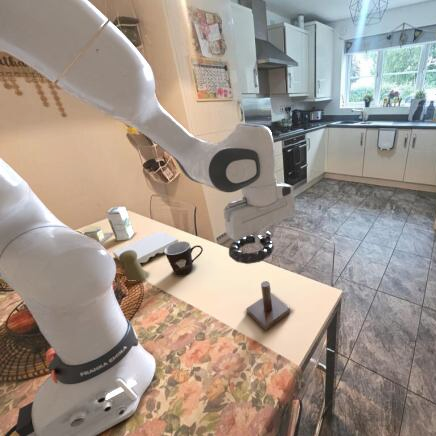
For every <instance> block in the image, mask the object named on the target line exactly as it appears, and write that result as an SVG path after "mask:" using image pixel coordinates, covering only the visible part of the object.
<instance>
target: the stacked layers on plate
mask: <svg viewBox="0 0 436 436" xmlns="http://www.w3.org/2000/svg"><path fill="white" fill-rule="evenodd" d="M81 233H83V235H86V236H88V237H90V238H92V239H94V240H96V241H97V242H99V243H100V244H102V243H103V242H104V241H105V240H107V239H108V238H109V237H110V236H112V233H104V232H103V229H102V228H101V226H96V225H91V226H86V227H85V228H83V230H82V231H81Z"/></svg>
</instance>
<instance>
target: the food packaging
mask: <svg viewBox="0 0 436 436" xmlns="http://www.w3.org/2000/svg"><path fill="white" fill-rule="evenodd" d="M175 242H179V239H178V238H176V237H174V236H172V235H171V234H168V233H167V232H165V231H163V230H158V231H156V232H153V233H151V234H149V235H147V236H145V237H142V238H140V239H138V240H135V241H134V242H131V243H129V244H127V245H125V246H122V247H119V248H117V249H115V250H113V251H112V254H113V256H114V257H115V259H117V260H118V261H119V262H121V261H120V260H119V256H120V254H121V253H123V252H125V251H128V250H133V251H135V252H136V253H137V260H138V262H139V263H140V264H142V263H143V264H144V263H147V262H148V261H149V260H150V258H151V257H152V258H153V257H155V256H156V254H163V253H164V249H165V248H166V247H167V246H169V245H170V244H172V243H175Z"/></svg>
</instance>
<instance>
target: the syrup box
mask: <svg viewBox="0 0 436 436" xmlns="http://www.w3.org/2000/svg"><path fill="white" fill-rule="evenodd" d="M105 215H106V217H107V220H108V223H109V224H110V228H111V231H112V234H113V236H114V237H115V240H116V241H126V240H130V239H131V238H132V237H133V235H135V232H134V229H133V226H132V223H131V220H130V217H129V214H128V212H127V209H126V206H114V207H110V209H108V211H106V212H105Z"/></svg>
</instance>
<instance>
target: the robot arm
mask: <svg viewBox="0 0 436 436" xmlns="http://www.w3.org/2000/svg"><path fill="white" fill-rule="evenodd" d="M108 20H109V19H108V17H106V16H105V14H103V13H102V12H101V11H100V10H99V9H98V8H97V7H96V6H95V5H94V4H93V3H91V1H89V0H0V51H1V52H4V53H6V54H8V55H10V56H12V57H13V58H16V59H17V60H19V61H20V62H22V63H24V64H25V65H27V66H28V67H30V68H32V69H33V71H36V72H37V73H38V74H40V76H43V77H44V78H45V79H47V80H49V81H50V82H52V83H53V84H55V82H56V84H55V85H56V86H57V87H59V88H60V89H61V90H63V91H64V92H66V93H68V94H69V95H71V96H72V97H73V98H76V99H77V100H78V101H80V102H81V103H83V104H86V105H87V106H89V107H90V108H92V109H94V110H96V111H98V112H100V113H102V114H104V115H106V116H108V117H110V118H112V119H114V120H116V121H118V122H120V123H123V124H125V125H126V126H129V127H131V128H133V129H135V130H136V131H138V133H141V134H142V135H143V136H145V137H146V138H148V139H149V140H150V141H151V142H153V143H154V144H156V146H158V147H159V148H161V149H162V150H163V151H164V152H166V153H167V154H168V155H170V156H171V157H172V158H173V159H174V160H175V162H176V164H177V165H178V166H179V168H180V170H181V171H182V173H183V174H184V175H185V177H187V178H188V179H189V180H190V181H192V182H193V183H198V184H202V185H205V186H206V187H209V188H212V189H214V190H217V191H219V192H223V193H235V192H237V191H239V190H241V197H242V198H239V199H237V200H235V201H230V202H228V203H227V205H226V206H225V207H224V209H223V218H224V224H225V233H226V235H227V237H229V238H230V239H231V240H234V241H235V240H239V239H241V238H244V237H246V236H248V235H252V236H253V237H254V238H255V243H256V244H255V245H257V246H259V245H260V244H262V243H263V238H262V237H260V236H258V235H260V231H261V230H264V229H266V228H268V229H267V231H266V232H265V236H266V237H267V238H269V239H271V240H272V239H274V238H275V232H276V229H277V227H278V224H277V223H279V222H282V221H284V220H287V219H288V218H291V217H293V216H294V215H295V212H296V202H295V196H294V194H293V193H294V186H293V185H291V184H288V183H285V182H281V181H278V177H277V174H276V169H275V168H276V163H277V161H276V150H275V149H276V148H275V142H274V137H273V135H272V131H271V130H270V128H269V127H268V126H266V125H264V124H257V123H256V124H255V123H244V122H243V123H238V124H236V126H235V128H234V129H233V131H232V132H231V133H230V134H229V135H227V137H225V138H224V139H222V140H221V141H219V142H212V141H209V140H205V139H203V138H199V137H196V136H194V135H193V134H191V133H190V132H189V131H188V130H187V129H186V128H185V127H184V126H183V125H181V124H180V123H179V122H178V121H177V120H176V119H175V118H174V117H173V116H172V115H170V113H169V112H168V111H166V110H165V108H164V107H163V106H162V105H161V103H160V102H159V100H158V97H157V94H156V81H155V76H154V71H153V69H152V67H151V65H150V64H149V63H148V62H147V60H146V59H145V57H144V56H143V55H142V54H141V52H140V51H139V50H138V49H137V47H136V46H135V45H134V44H133V43H132V42H131V40H130V39H129V38H127V36H126V35H125V34H124V33H123V32H122V31H121V30H120V29H119V28H118V27H117V25H115V24H113V22H112V21H110V20H109V21H108ZM105 24H106V25H105ZM104 25H105V26H104ZM102 27H103V28H102ZM101 29H102V30H101ZM100 30H101V31H100ZM99 31H100V32H99ZM96 34H97V35H96ZM94 37H95V38H94ZM93 38H94V39H93ZM92 39H93V40H92ZM91 40H92V41H91ZM89 42H90V43H89ZM87 45H88V46H87ZM86 46H87V47H86ZM85 47H86V48H85ZM81 52H82V53H81ZM73 61H74V62H73ZM71 64H72V65H71ZM70 65H71V66H70ZM69 66H70V67H69ZM67 68H68V69H67ZM66 70H67V71H66ZM65 71H66V72H65ZM59 78H60V79H59ZM58 79H59V80H58ZM57 80H58V81H57ZM116 274H117V265H116V262H115V259H114V257H113V256H112V255H111V254H110V252H109V250H107V249H106V248H105V247H104V246H103V245H102V243H99V242H97V241H96V240H94V239H92V238H90V237H88V236H86V235H84V233H82V232H79V231H77V230H75V229H73V228H71V227H69V226H68V225H67V224H65V223H63V222H62V221H61V220H60V219H58V218H57V217H56V216H55V214H53V213H52V211H51V210H49V208H47V206H46V205H45V203H43V201H41V199H40V198H39V197H38V196H37V195H36V193H35V191H33V189H31V187H30V185H29V183H27V181H26V180H24V179H23V178H22V177H21V176H20V174H18V173H17V172H16V170H14V169H13V168H12V167H11V166H9V164H8V163H6V162H5V161H4V159H2V157H0V279H1V280H2V281H3V282H5V283H6V284H7V285H8V286H9V287H10V289H12V290H13V291H14V292H15V294H16V295H18V297H19V298H20V300H21V301H22V302H23V303H24V305H25V306H26V308H27V309H28V311H29V313H30V314H31V316H32V317H33V319H34V321H35V322H36V325H37V326H38V329H39V331H40V333H41V335H42V336H43V337H44V339H45V340H46V341H47V343H48V344H49V346H50V348H49V349H48V350H47V351H46V353H45V361H46V362H47V363H48V371H49V373H50V375H49V376H48V377H47V378H46V379H45V380H44V382H43V383H42V384H40V386H39V387H38V388H37V390H36V392H35V394H34V397H33V401H31V402H30V403H28V404H26V405H24V406H22V407H20V408H19V409H18V415H17V421H16V423H15V425H14V426H13V427H12V428H10V429H9V430H8V431H7V432H6V434H4V436H11V435H12V434H13V433H14V432H16V433H17V434H18V436H97V435H99V434H101V433H103V432H105V431H107V430H109V429H110V428H112V427H114V426H116V425H117V424H119V423H121V422H123V421H124V420H127V419H128V418H130V417H132V415H134V414H135V412H136V410H137V409H138V406H139V404H140V400H141V398H142V396H143V395H144V393H145V391H147V389H148V388H149V386H150V384H151V382H152V381H153V378H154V376H155V374H156V367H157V363H156V359H155V357H154V356H153V355H152V354H151V353H150V352H148V351H147V350H146V349H145V348H144V347H143V346H142V345H141V343H140V342H139V337H138V335H137V332H136V330H135V328H134V325H133V323H131V321H130V320H129V318H127V317H125V315H124V312H123V310H122V308H121V306H120V303H119V302H118V299H117V298H116V294H115V290H114V285H113V283H114V281H115V278H116Z"/></svg>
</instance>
